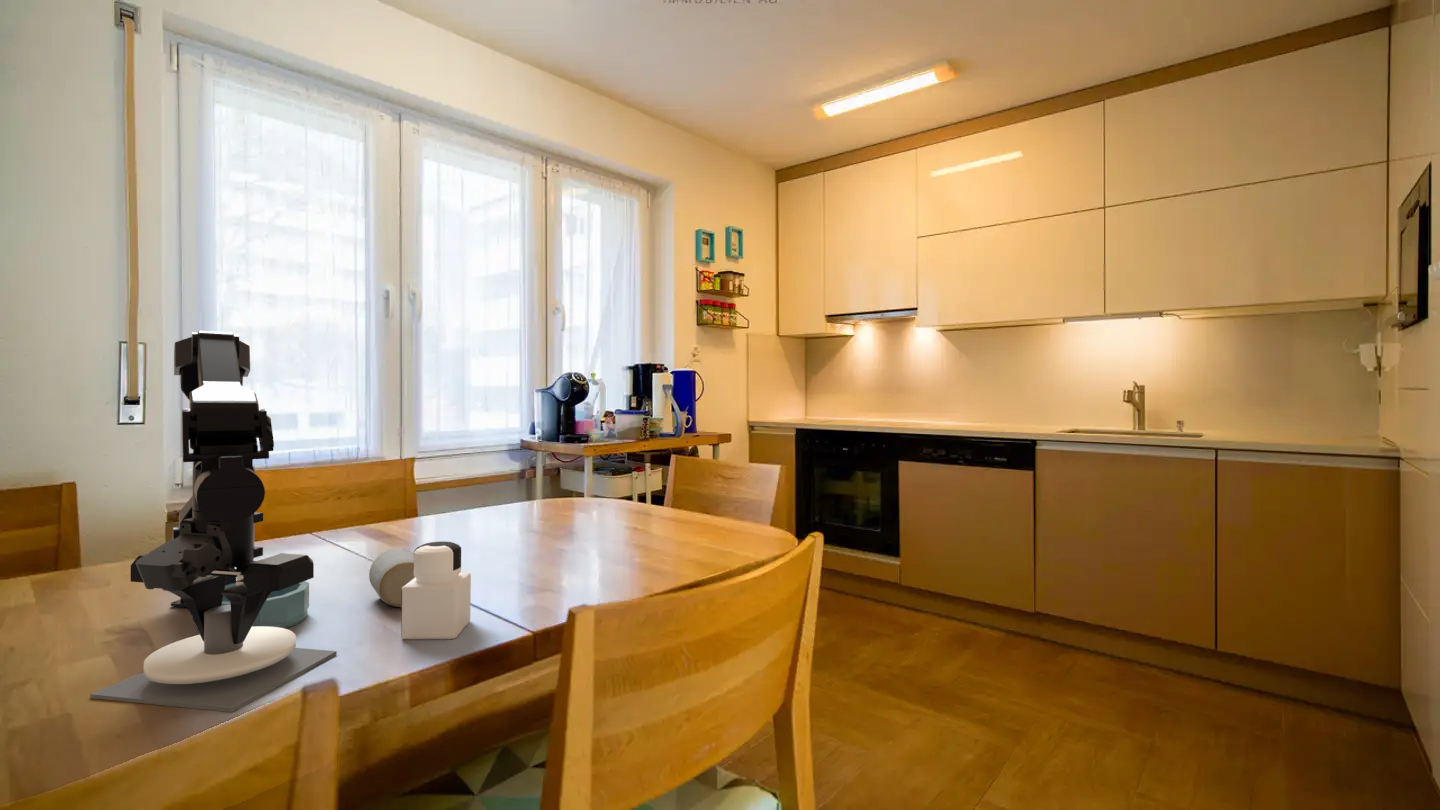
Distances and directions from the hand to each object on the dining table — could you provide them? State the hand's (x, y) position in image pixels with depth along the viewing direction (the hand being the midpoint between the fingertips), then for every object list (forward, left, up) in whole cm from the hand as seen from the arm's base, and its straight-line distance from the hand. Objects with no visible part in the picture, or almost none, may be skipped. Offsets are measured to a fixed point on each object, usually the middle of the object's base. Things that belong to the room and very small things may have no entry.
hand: (223, 641), depth 76 cm
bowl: (-10, +15, -4) cm, 19 cm away
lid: (0, 0, -2) cm, 2 cm away
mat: (0, 0, -4) cm, 4 cm away
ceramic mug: (+4, +29, -4) cm, 29 cm away
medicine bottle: (+16, +17, -4) cm, 24 cm away
